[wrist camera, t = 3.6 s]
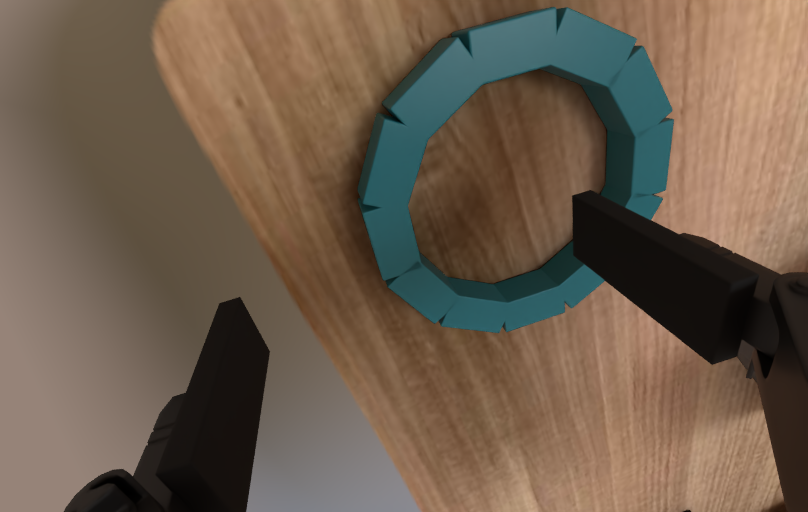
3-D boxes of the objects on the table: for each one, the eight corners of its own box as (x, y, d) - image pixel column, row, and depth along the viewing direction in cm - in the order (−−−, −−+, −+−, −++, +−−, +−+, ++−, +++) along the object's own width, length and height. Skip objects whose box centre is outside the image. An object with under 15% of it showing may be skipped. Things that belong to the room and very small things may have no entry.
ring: (401, 342, 23) (409, 365, 21) (316, 68, 16) (318, 70, 14) (631, 265, 24) (656, 281, 23) (653, -22, 17) (692, -31, 15)
